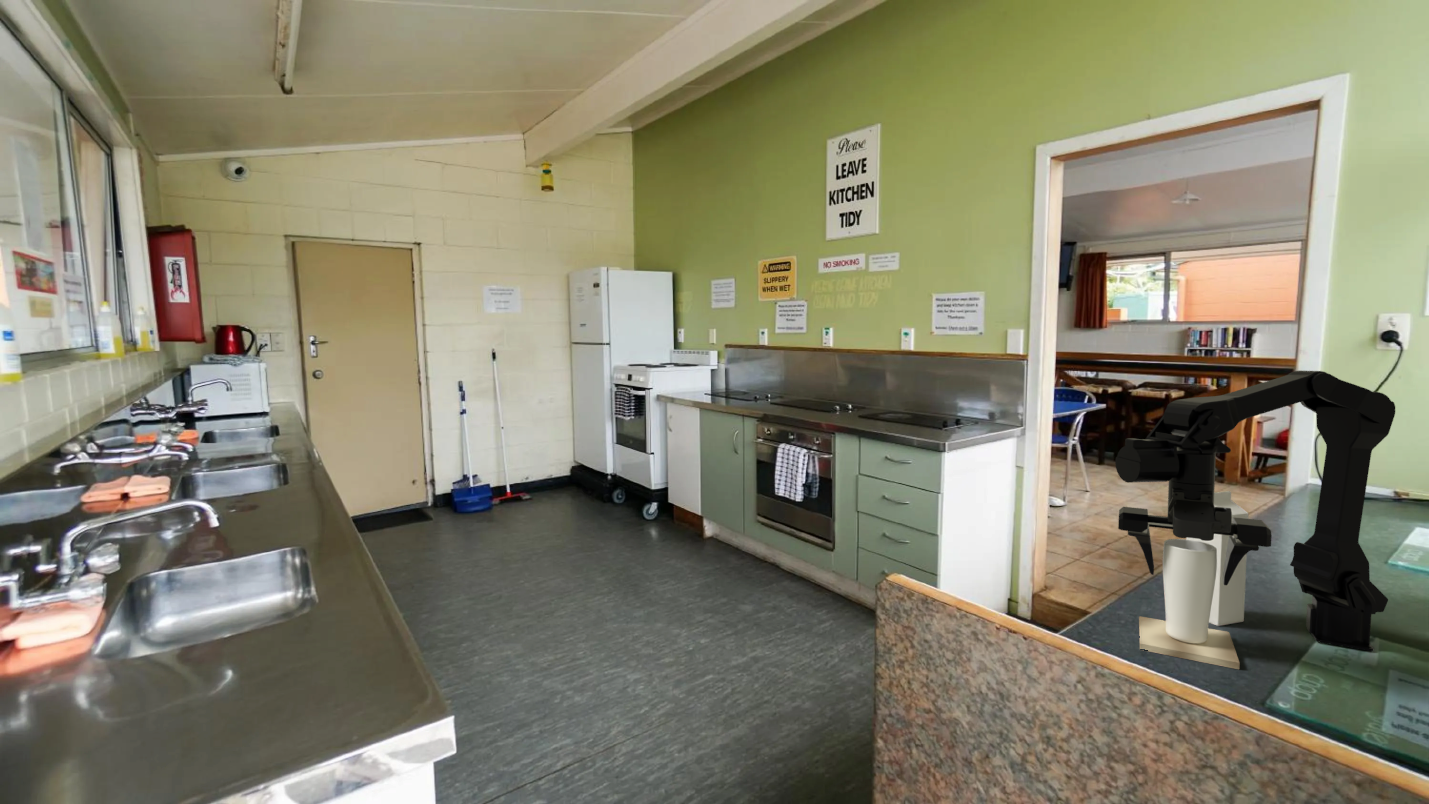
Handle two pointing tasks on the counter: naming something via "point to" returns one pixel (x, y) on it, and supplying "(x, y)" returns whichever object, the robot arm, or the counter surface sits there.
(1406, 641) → the counter surface
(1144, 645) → the birch board
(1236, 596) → the milk
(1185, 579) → the drinking glass
